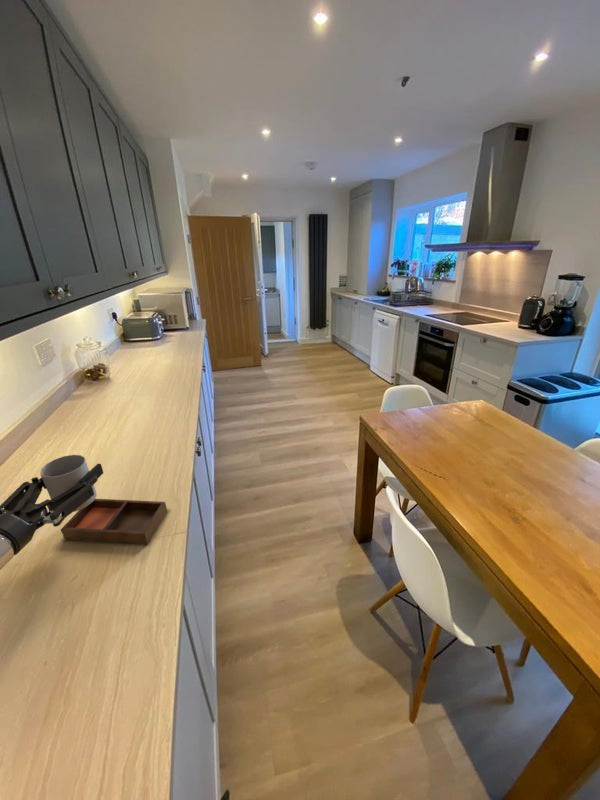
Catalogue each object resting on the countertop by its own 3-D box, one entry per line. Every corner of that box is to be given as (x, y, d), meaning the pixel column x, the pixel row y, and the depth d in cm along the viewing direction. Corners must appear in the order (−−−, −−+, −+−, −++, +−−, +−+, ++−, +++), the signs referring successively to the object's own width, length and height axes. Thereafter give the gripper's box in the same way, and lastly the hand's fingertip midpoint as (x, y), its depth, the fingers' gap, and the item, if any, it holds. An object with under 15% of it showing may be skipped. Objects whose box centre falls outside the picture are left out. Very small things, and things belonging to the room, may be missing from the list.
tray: (64, 540, 80) (60, 529, 79) (93, 508, 91) (90, 498, 89) (147, 544, 79) (144, 534, 78) (167, 511, 89) (165, 501, 88)
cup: (71, 517, 71) (57, 480, 67) (46, 507, 74) (31, 472, 70) (104, 492, 79) (93, 458, 74) (80, 485, 81) (68, 451, 77)
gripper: (-50, 555, 60) (46, 478, 80) (58, 562, 58) (128, 481, 79) (-69, 525, 57) (36, 452, 77) (44, 532, 55) (121, 456, 76)
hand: (82, 467), depth 78 cm, fingers closed on cup, 8 cm apart
